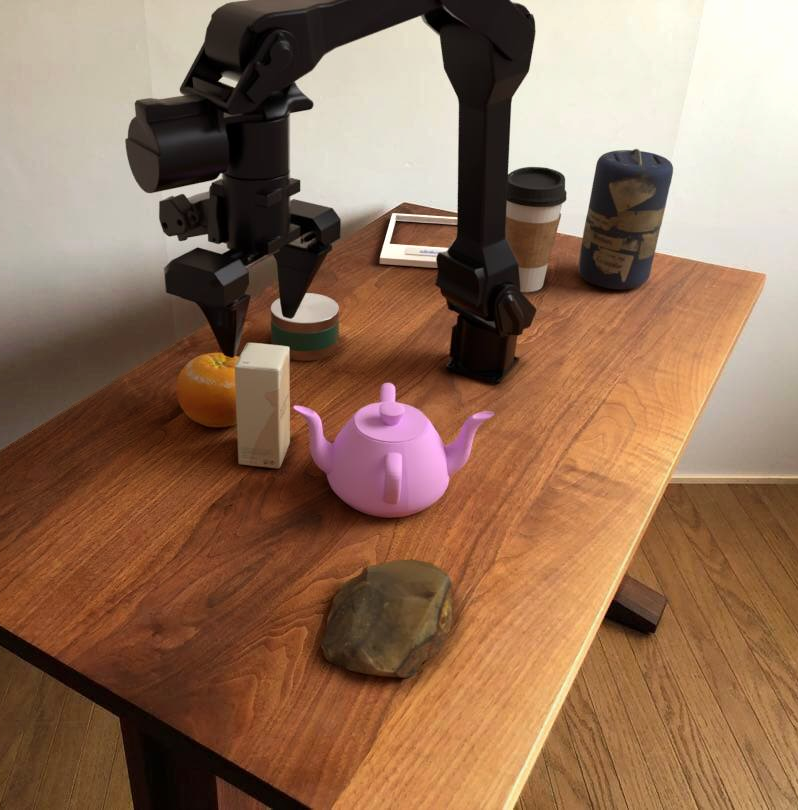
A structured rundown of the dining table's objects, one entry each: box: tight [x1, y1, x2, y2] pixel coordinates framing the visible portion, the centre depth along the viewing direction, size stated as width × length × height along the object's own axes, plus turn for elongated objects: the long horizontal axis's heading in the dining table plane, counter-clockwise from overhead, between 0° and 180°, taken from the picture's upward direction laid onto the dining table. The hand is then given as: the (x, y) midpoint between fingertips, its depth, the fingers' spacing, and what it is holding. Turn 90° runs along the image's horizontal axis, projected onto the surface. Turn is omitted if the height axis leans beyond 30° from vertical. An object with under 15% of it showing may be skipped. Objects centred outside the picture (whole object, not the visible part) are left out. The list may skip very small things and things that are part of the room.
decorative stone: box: [320, 558, 453, 679], centre depth 70 cm, size 10×9×4 cm
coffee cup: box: [505, 166, 568, 293], centre depth 121 cm, size 8×8×15 cm
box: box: [235, 342, 291, 469], centre depth 88 cm, size 5×4×11 cm
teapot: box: [293, 382, 495, 519], centre depth 84 cm, size 12×14×9 cm
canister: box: [577, 148, 674, 290], centre depth 121 cm, size 10×10×18 cm
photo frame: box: [379, 212, 457, 269], centre depth 136 cm, size 15×1×18 cm
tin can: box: [270, 292, 340, 362], centre depth 108 cm, size 8×8×5 cm
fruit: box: [176, 352, 240, 428], centre depth 95 cm, size 8×8×8 cm
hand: (259, 336), depth 84 cm, fingers open, 9 cm apart
